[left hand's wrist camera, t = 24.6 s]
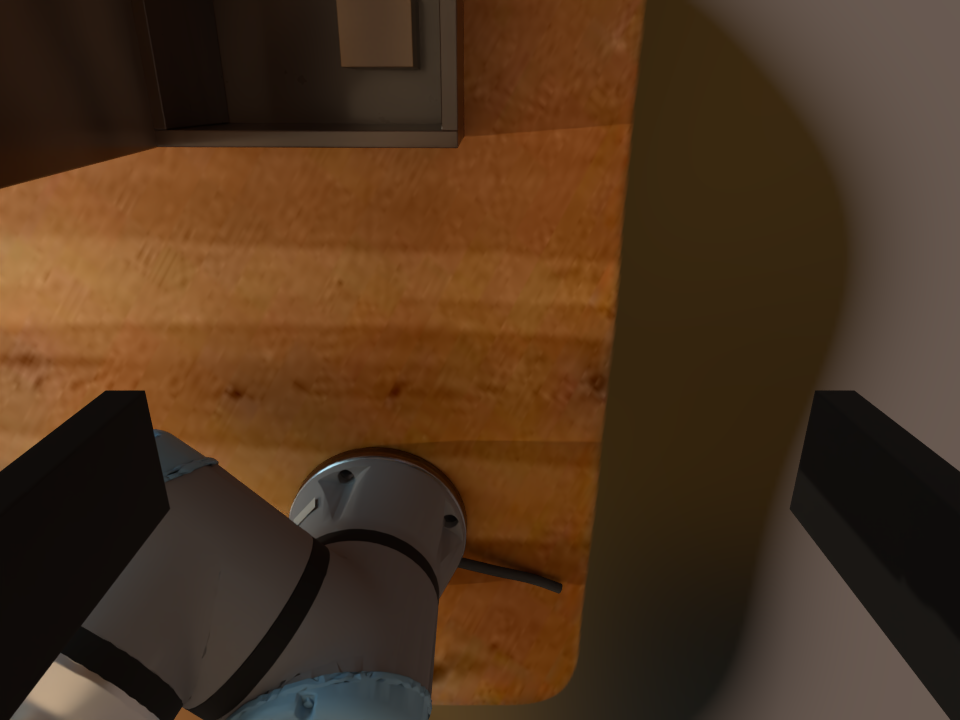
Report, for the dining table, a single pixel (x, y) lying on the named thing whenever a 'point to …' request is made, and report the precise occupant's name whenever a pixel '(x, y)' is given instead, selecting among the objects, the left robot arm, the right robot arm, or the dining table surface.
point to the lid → (69, 87)
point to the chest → (293, 77)
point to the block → (379, 34)
